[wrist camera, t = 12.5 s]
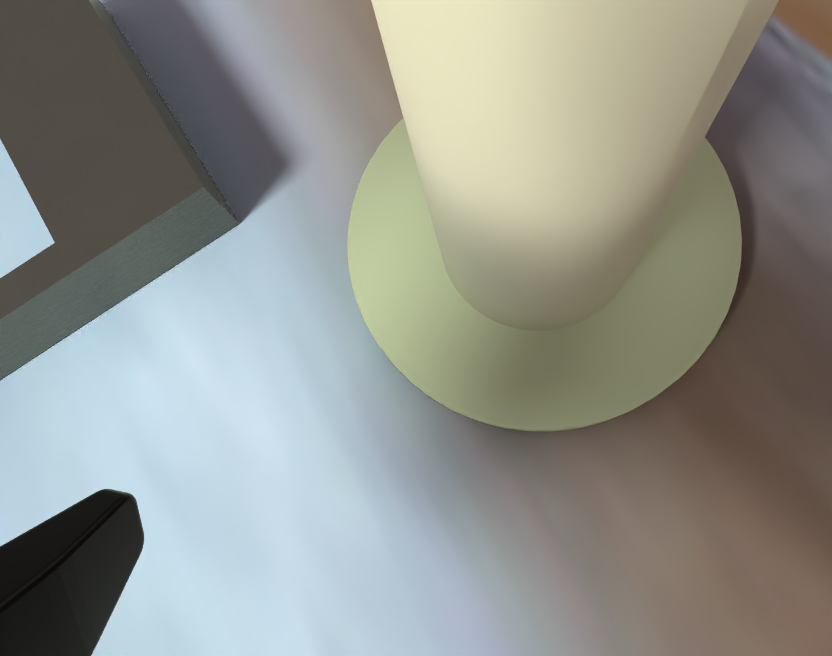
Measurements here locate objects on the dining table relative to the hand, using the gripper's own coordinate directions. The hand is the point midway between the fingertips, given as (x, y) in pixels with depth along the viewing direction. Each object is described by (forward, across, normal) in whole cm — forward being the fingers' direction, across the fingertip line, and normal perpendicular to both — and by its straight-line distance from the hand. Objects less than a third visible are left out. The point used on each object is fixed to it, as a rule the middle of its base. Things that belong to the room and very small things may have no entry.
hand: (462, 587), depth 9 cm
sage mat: (+12, 0, +1) cm, 12 cm away
